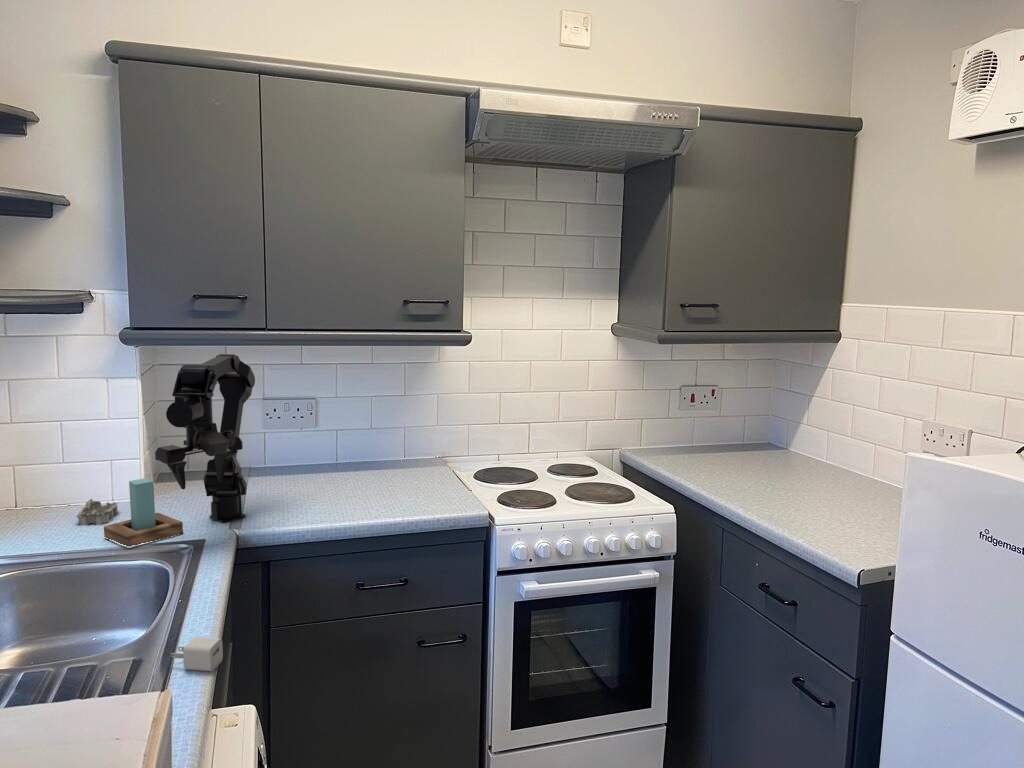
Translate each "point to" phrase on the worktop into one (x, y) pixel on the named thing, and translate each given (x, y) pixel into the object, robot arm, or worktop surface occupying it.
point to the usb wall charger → (201, 654)
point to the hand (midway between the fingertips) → (201, 484)
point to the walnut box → (143, 531)
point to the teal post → (142, 504)
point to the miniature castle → (97, 512)
